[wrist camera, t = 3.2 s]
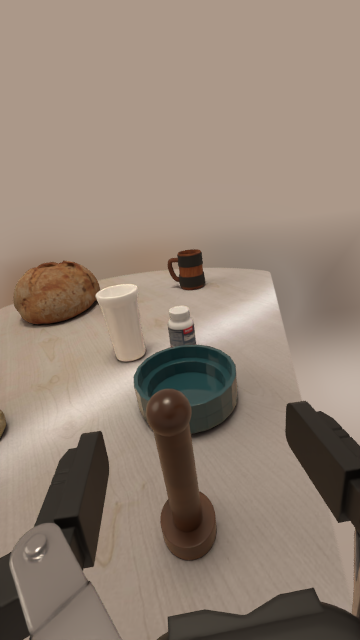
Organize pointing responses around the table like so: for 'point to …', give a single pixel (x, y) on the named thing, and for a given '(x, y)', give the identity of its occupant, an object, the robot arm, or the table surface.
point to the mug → (188, 269)
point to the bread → (55, 292)
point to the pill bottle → (181, 327)
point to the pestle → (180, 478)
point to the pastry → (2, 423)
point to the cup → (123, 320)
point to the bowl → (191, 382)
